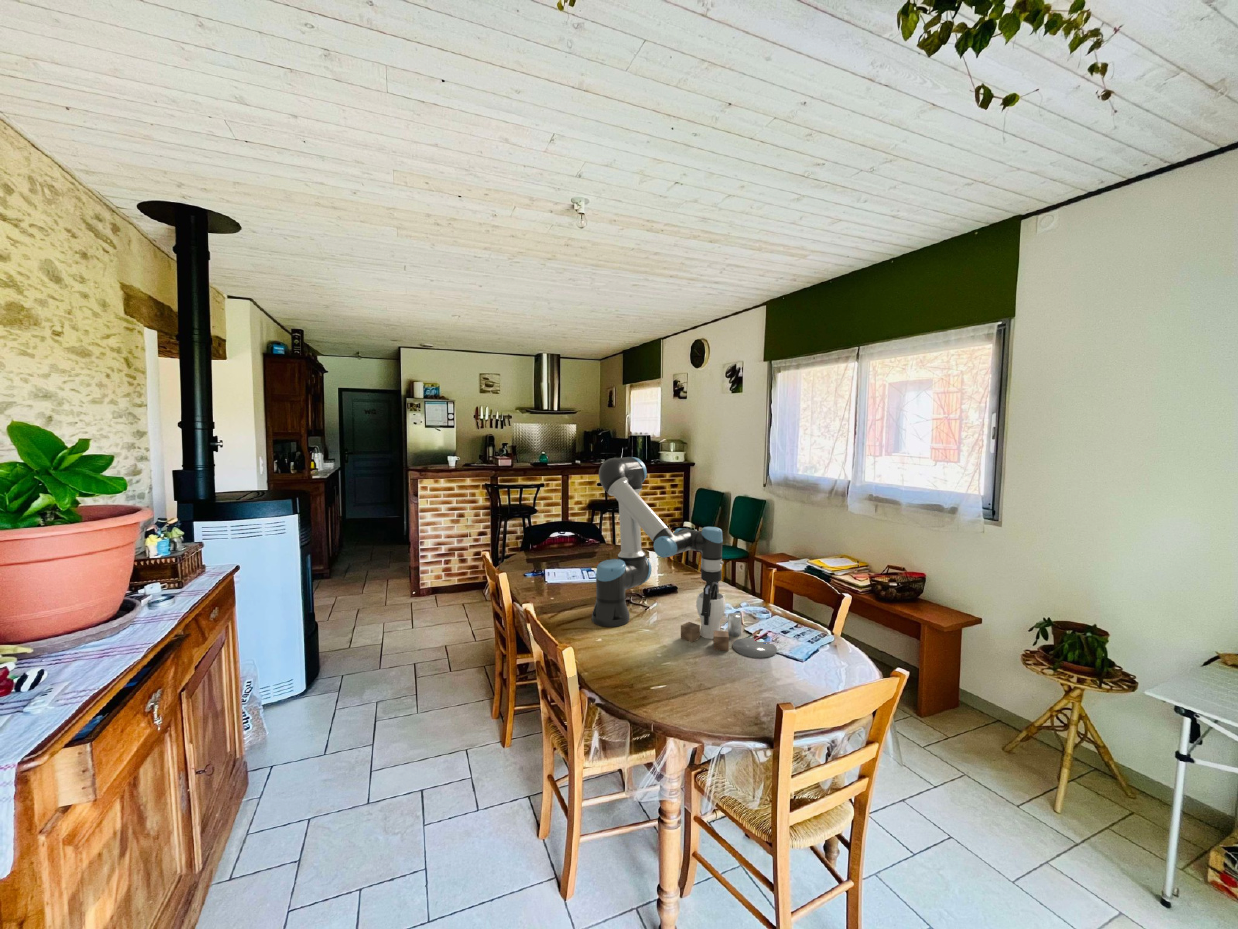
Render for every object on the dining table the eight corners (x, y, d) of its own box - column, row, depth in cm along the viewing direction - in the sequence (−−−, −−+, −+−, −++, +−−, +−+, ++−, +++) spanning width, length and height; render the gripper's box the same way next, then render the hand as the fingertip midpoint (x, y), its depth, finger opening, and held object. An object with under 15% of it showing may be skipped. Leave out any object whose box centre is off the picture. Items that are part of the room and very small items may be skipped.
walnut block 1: (680, 638, 188) (680, 625, 187) (688, 634, 191) (688, 621, 191) (691, 642, 184) (691, 629, 184) (699, 638, 188) (700, 625, 187)
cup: (724, 642, 185) (725, 601, 183) (695, 639, 187) (695, 599, 186) (724, 630, 195) (725, 592, 194) (696, 628, 197) (697, 590, 196)
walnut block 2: (713, 650, 178) (714, 636, 178) (713, 644, 183) (713, 630, 183) (728, 651, 177) (728, 637, 177) (727, 645, 182) (728, 631, 182)
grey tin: (726, 635, 191) (726, 616, 190) (729, 630, 196) (729, 612, 195) (739, 637, 189) (740, 618, 188) (742, 632, 194) (742, 614, 193)
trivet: (728, 653, 176) (728, 651, 176) (737, 636, 189) (737, 635, 189) (774, 661, 170) (774, 659, 170) (779, 643, 183) (779, 642, 183)
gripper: (714, 579, 177) (713, 640, 179) (728, 562, 198) (726, 618, 200) (693, 576, 180) (692, 637, 182) (709, 560, 201) (707, 615, 203)
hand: (710, 627), depth 191 cm, fingers closed on cup, 11 cm apart
